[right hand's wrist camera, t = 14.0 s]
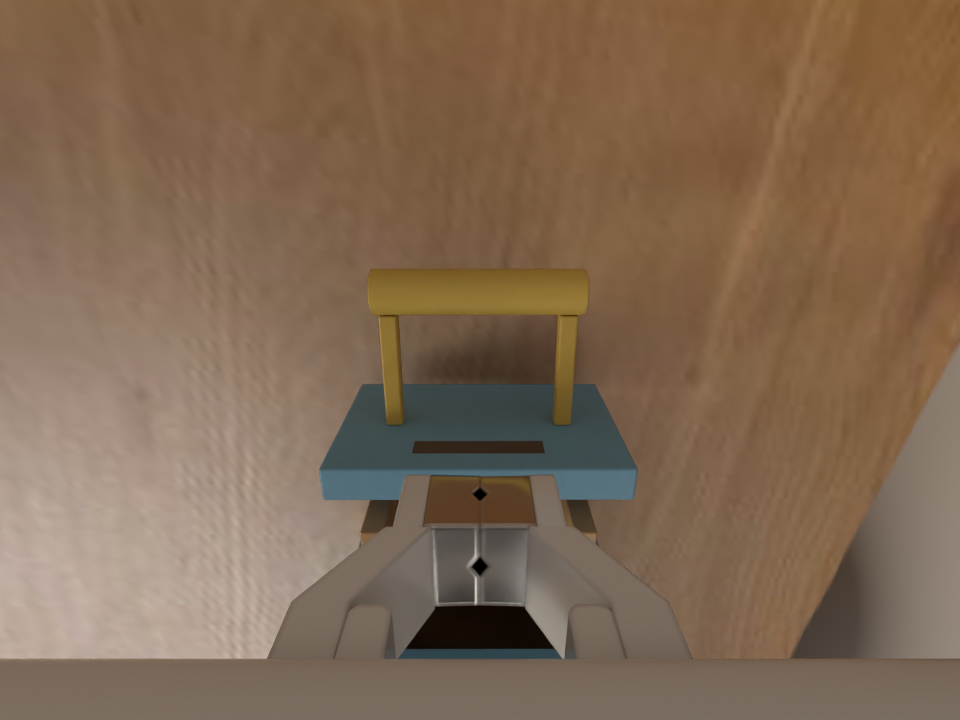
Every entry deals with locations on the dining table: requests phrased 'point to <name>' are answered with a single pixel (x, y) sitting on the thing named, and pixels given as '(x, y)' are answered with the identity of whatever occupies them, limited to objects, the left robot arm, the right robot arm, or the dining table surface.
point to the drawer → (478, 427)
